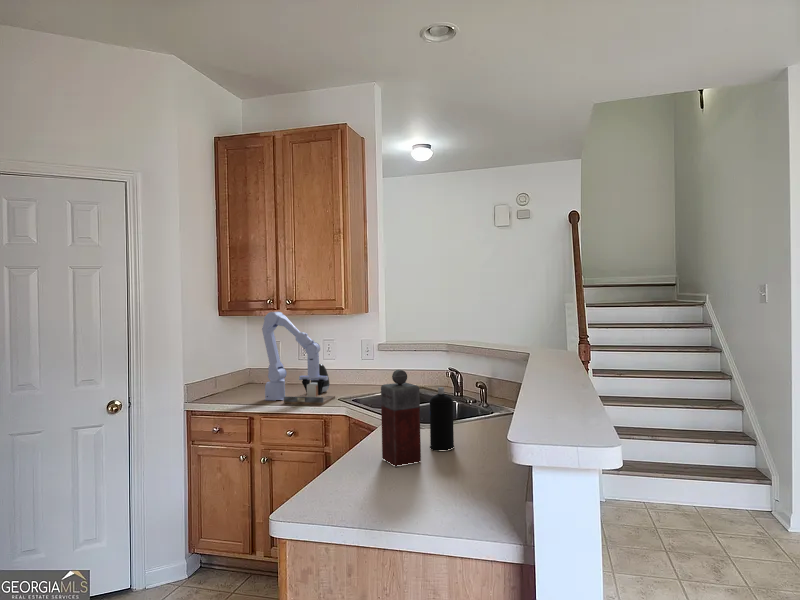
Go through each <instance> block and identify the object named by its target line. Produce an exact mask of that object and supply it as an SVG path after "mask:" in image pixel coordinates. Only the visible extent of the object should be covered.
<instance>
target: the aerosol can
mask: <svg viewBox="0 0 800 600" xmlns="http://www.w3.org/2000/svg"><path fill="white" fill-rule="evenodd" d="M428 403H429V436H430V445H429V449H430V448H431V449H433V450H432V451H434V450H448V449H451V448H453V447H455V443H454V441H455V439H454V437H455V436H454V433H455V432H454V399H453V398H452V397H451V396H449V395H447V394H445V387H443V386H441V387H440V386H439V387H438V388H437V394H434V395H432V397H431V398H430V399H428ZM431 449H430V450H431Z"/></svg>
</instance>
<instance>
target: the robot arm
mask: <svg viewBox="0 0 800 600" xmlns="http://www.w3.org/2000/svg"><path fill="white" fill-rule="evenodd" d="M278 326H279V327H284V328H285V329H286V330H287V331H288V332H290V333H291V335H293V336H294V337H295V341H296V342H297V343H298V344H299V346H301V347H302V348H303V349H305V351H304V352H305V353H306V355H307V356H306V357H307V360H306V361H307V375H299V378H298V380H299V381H301V384H302V385H303V388H304V390H305V392H306V393H305V394H306V395H307V385H308V384H310V383H311V380H319V381H317V383H318V395H321V396H322V394H323V393H322V388H323V385H324V383H325V380H326V381H327V380H328V377H329V375H328V376H319V364H320V353H319V352H320V351H321V346H320V344H319V343H318V342H315V340H314V339H311V338H310V336H309V334H308V333H307V332H304V331H301V330H299V329H298V328H297V326H295V325H294V324H293V323H292V321H291V320H290V319H289V318H288V317H287V315H285V314H284V313H283V312H281V311H269V312H268V313H267V314H266V315H265V316H264V318H263V324H262V329H261V330H262V335H263V340H264V344H265V349H266V353H267V358H268V363H269V365H268V368H267V369H268V374H267V378H268V380H269V381H267V382H265V386H264V401H276V400H282V401H284V396H286V384H285V383H286V380H285V378H286V377H287V376H288V375H287V374H288V373H287V370H286V369H285V367H284V364H283V363H282V361H281V359H280V355H279V350H278V349H279V348H278V345H277V341H276V336H275V332H274V331H275V330H276V329H277V327H278Z"/></svg>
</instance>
